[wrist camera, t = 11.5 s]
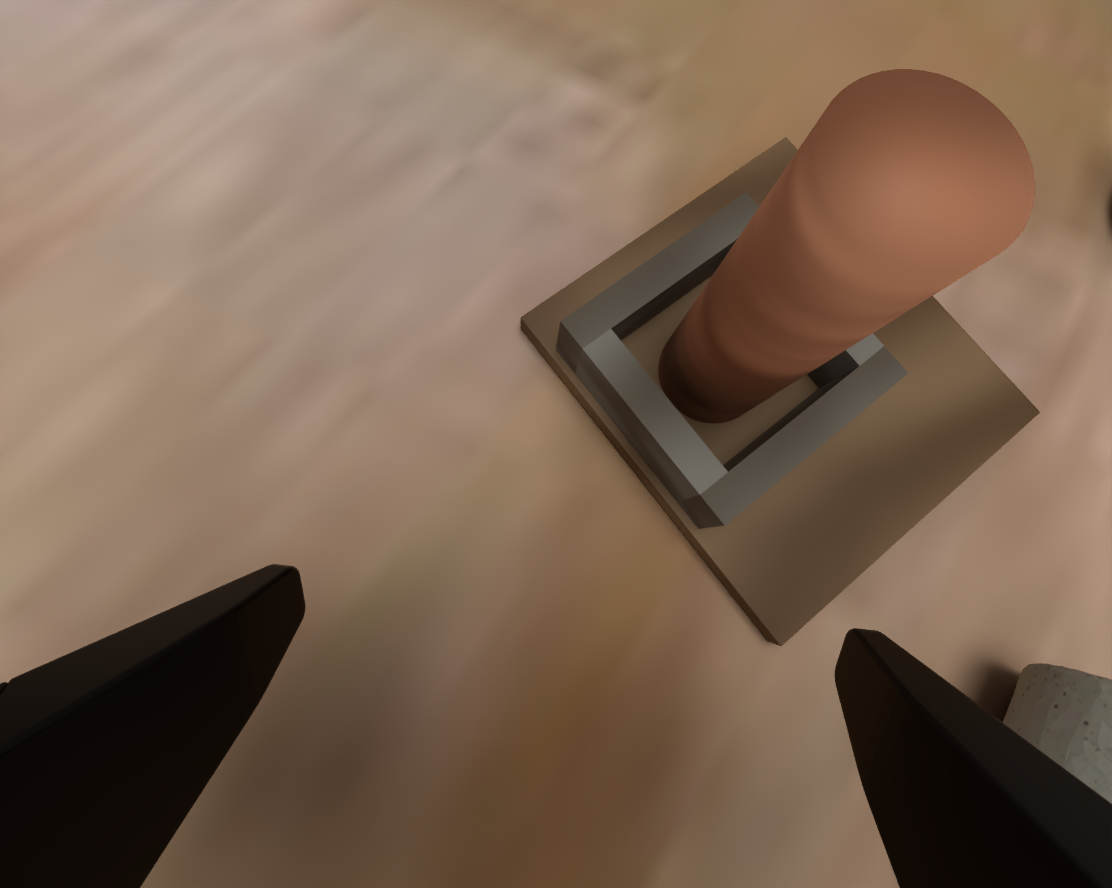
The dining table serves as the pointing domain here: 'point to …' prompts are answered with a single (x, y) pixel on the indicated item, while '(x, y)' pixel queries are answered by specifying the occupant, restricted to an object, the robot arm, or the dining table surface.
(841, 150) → the peg
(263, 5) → the dining table surface
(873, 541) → the socket board
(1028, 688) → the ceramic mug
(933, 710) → the robot arm
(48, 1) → the dining table surface
